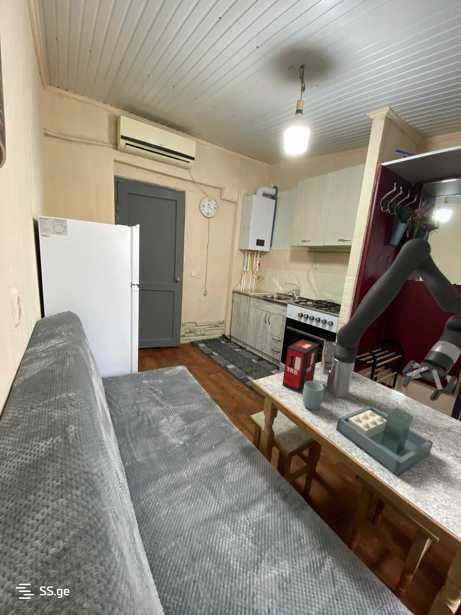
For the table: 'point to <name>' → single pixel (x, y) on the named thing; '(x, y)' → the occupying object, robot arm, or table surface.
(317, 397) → the cup
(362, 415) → the egg carton
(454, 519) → the table surface
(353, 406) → the table surface
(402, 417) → the tea tin
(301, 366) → the cleaning product box
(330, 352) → the coffee box
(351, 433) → the tray
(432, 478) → the table surface
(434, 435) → the table surface
